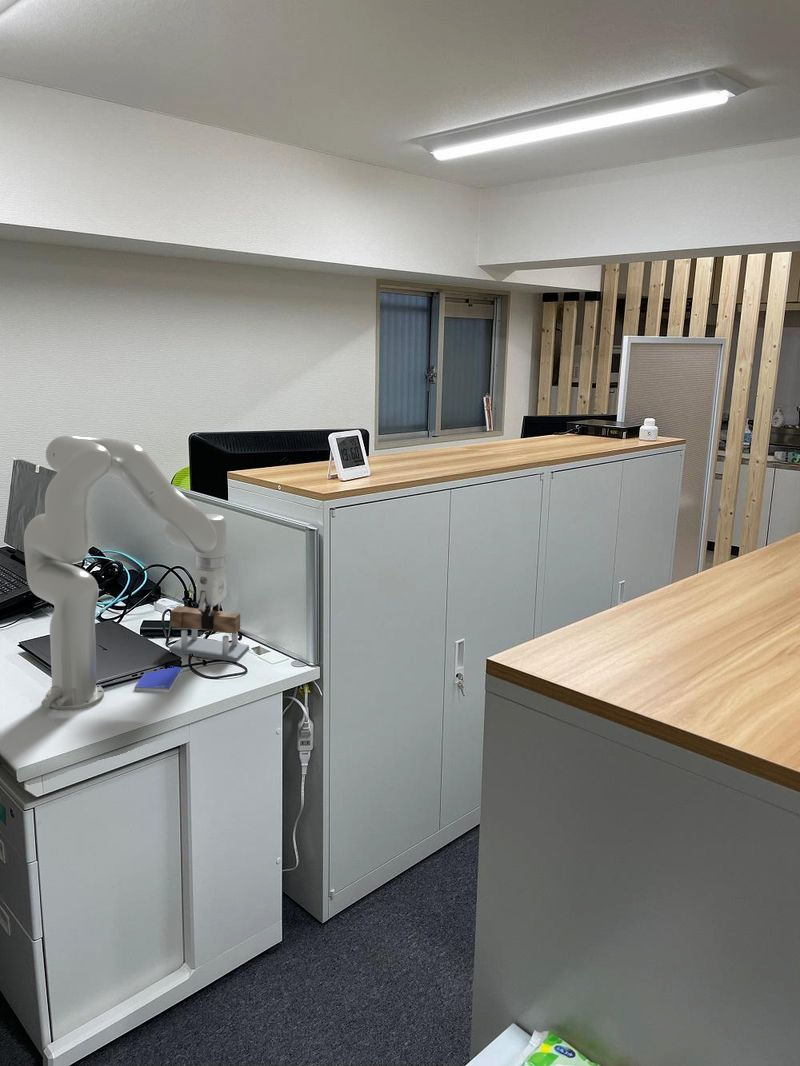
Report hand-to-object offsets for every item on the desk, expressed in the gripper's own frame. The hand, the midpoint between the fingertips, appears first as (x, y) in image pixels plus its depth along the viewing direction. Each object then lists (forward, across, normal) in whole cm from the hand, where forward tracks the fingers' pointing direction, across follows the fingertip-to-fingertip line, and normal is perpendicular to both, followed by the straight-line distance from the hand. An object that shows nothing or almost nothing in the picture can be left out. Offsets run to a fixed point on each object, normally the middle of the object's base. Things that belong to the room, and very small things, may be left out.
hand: (210, 625), depth 213 cm
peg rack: (+7, 0, 0) cm, 7 cm away
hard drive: (+8, -21, +5) cm, 23 cm away
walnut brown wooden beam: (+1, 0, +1) cm, 2 cm away
